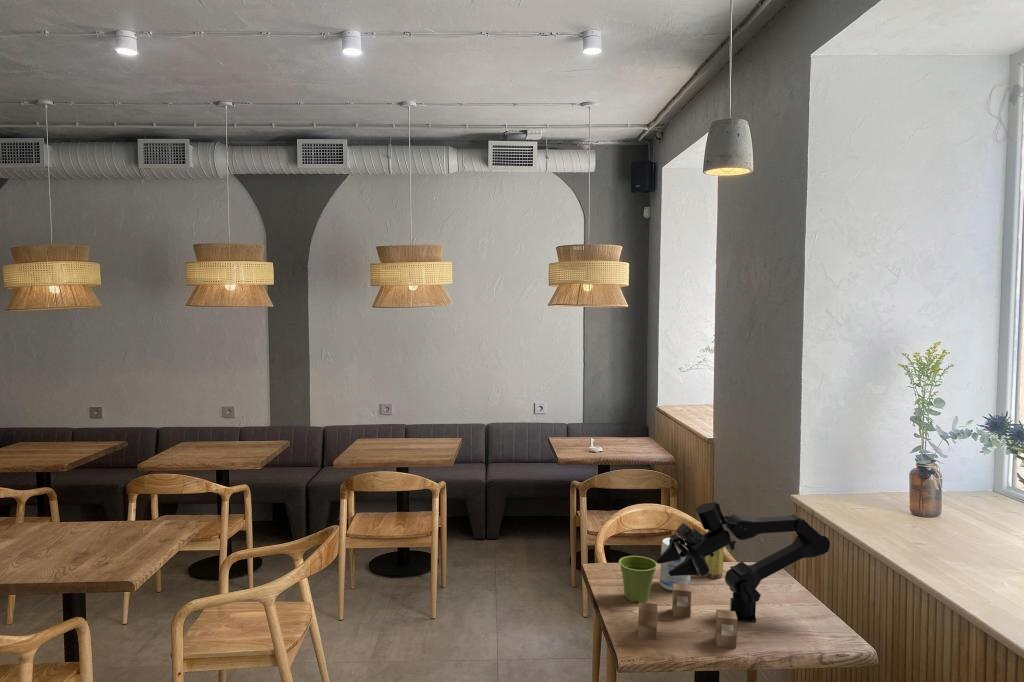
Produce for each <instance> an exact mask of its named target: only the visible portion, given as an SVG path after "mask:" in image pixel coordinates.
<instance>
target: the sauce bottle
mask: <svg viewBox="0 0 1024 682" xmlns="http://www.w3.org/2000/svg"><path fill="white" fill-rule="evenodd" d="M707 532H709V530H707ZM724 548H725V547H723V548H721V549H719V550H717V551H715V552H714V553H713V554H714V556H713V557H710V556H709V555H708V556H706V557H705V561H706V563H707V565H708V567H709V572H708V574H707V575H705V576H704V577H708V578H711V579H720V578H723V572H724Z"/></svg>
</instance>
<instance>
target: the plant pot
mask: <svg viewBox="0 0 1024 682" xmlns="http://www.w3.org/2000/svg"><path fill="white" fill-rule="evenodd" d="M618 564H619V566H620V570H621V574H622V582H623V590H624V597H625V598H626V600H628V601H631V602H633V603H634V602H638V603H639V602H643V603H646V602H648V600H649V599H650V593H651V589H652V585H653V584H652V583H653V579H654V576H655V572H656V569H657V568H658V562H657V561H655V560H654V559H652V558H649V557H646V556H639V555H628V556H623V557H620V559H619V560H618Z"/></svg>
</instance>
